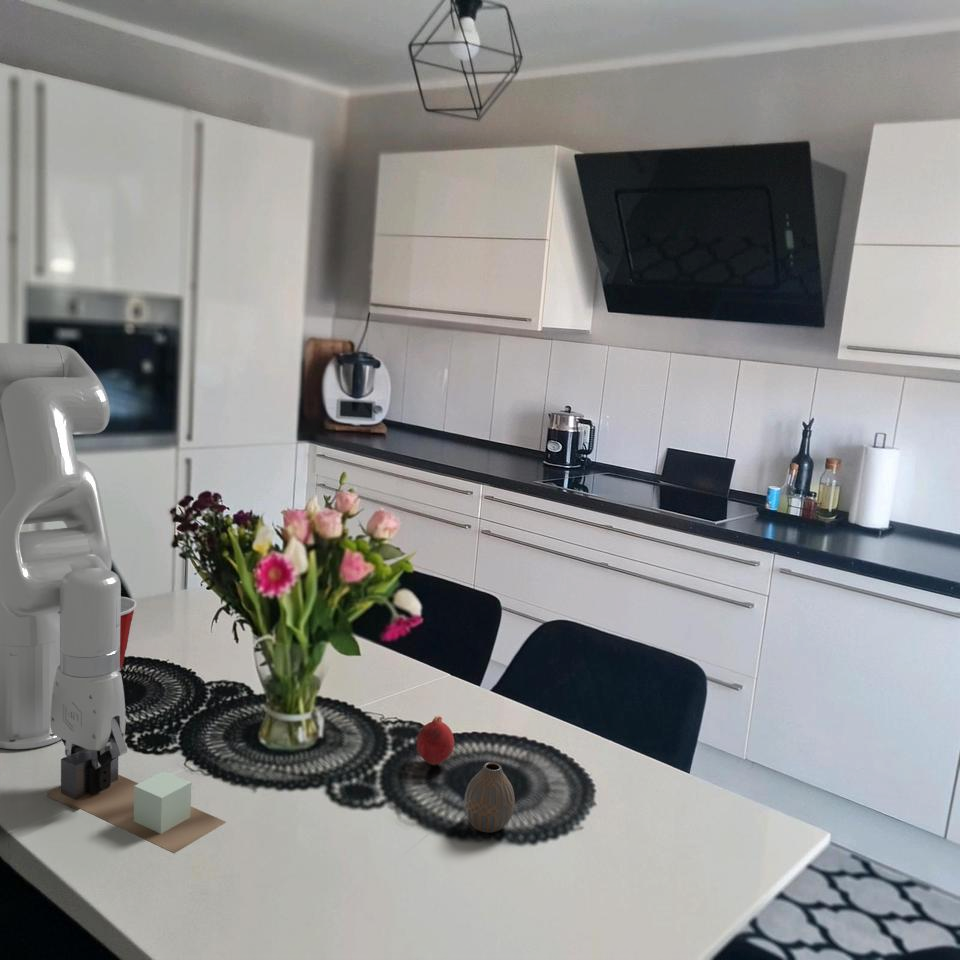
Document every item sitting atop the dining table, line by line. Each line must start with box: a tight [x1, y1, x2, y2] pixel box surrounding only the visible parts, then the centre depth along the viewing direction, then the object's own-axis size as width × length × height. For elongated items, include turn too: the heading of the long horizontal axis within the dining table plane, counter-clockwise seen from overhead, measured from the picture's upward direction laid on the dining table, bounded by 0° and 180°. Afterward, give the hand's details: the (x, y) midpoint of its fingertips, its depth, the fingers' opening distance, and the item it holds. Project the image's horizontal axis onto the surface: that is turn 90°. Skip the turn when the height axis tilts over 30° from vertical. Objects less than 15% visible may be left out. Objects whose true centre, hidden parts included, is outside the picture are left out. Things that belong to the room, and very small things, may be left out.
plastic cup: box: [120, 596, 138, 670], centre depth 173 cm, size 11×11×12 cm
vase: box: [463, 762, 516, 833], centre depth 131 cm, size 7×7×9 cm
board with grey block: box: [46, 748, 227, 854], centre depth 128 cm, size 24×9×6 cm, turn 61°
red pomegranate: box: [416, 715, 455, 766], centre depth 147 cm, size 6×6×8 cm
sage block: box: [134, 770, 192, 834], centre depth 125 cm, size 5×5×5 cm
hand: (89, 784), depth 132 cm, fingers open, 3 cm apart
